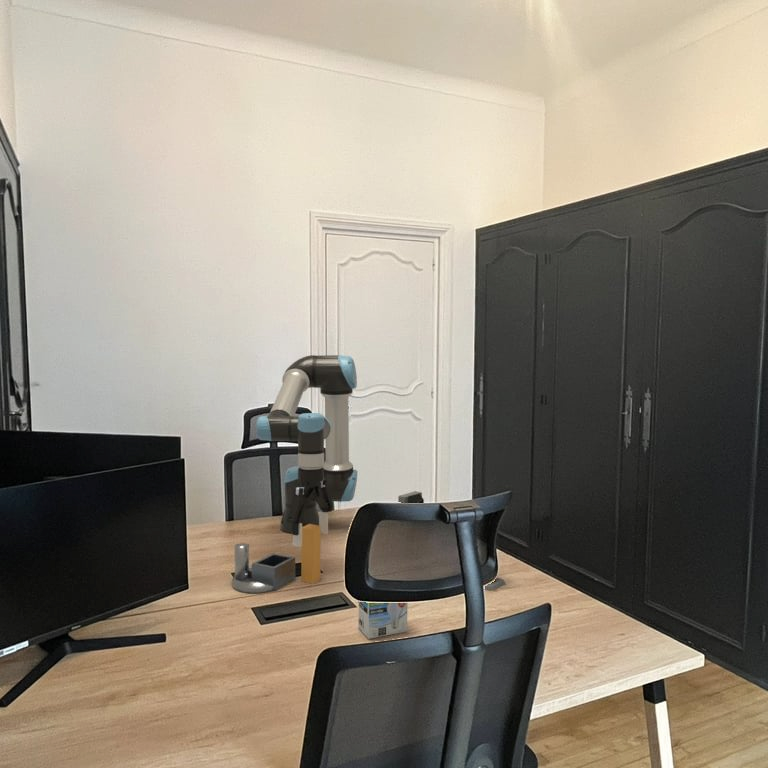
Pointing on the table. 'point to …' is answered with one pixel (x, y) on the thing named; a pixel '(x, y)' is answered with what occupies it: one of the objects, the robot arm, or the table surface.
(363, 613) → the light bulb box
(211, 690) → the table surface
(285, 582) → the bracket
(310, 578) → the orange rectangular block
